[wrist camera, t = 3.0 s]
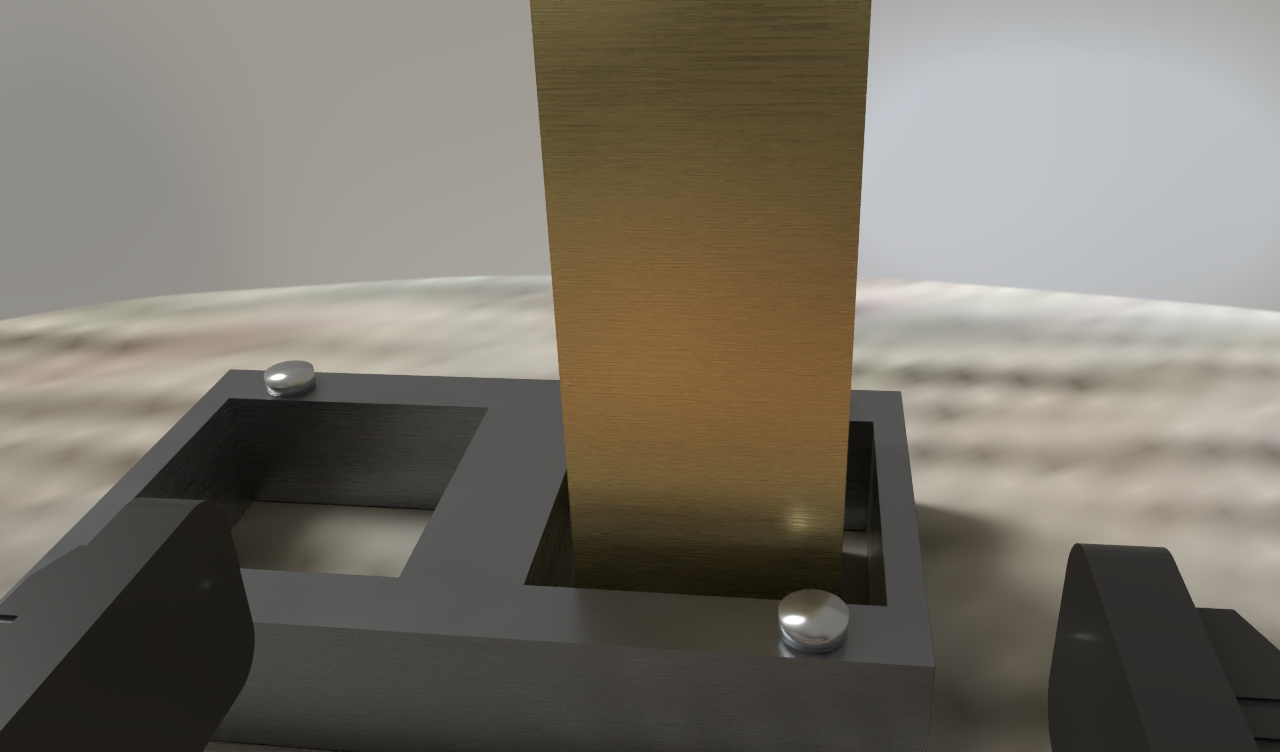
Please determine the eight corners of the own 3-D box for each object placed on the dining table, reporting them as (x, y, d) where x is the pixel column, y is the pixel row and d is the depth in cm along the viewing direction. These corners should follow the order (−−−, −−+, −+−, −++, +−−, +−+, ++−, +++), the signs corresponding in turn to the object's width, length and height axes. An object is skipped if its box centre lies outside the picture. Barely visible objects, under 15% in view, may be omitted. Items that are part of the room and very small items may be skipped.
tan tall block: (584, 683, 23) (505, -304, 15) (622, 538, 28) (576, -287, 20) (834, 700, 22) (888, -325, 15) (832, 549, 27) (874, -302, 19)
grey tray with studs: (40, 725, 23) (-12, 588, 21) (252, 468, 31) (226, 355, 30) (921, 798, 20) (937, 648, 19) (892, 497, 29) (901, 376, 27)
